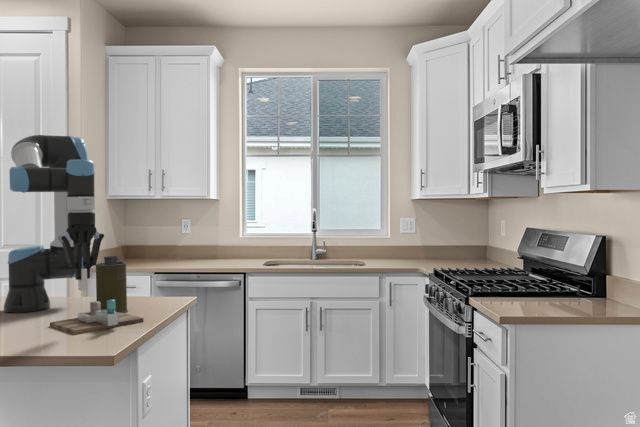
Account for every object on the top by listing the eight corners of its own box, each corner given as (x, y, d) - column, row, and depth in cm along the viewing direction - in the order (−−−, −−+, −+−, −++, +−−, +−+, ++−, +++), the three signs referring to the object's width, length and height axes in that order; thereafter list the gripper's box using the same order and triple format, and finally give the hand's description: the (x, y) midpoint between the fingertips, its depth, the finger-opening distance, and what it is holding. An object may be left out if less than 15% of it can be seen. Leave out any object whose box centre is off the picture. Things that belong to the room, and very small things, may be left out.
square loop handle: (77, 319, 169) (77, 296, 169) (103, 315, 175) (102, 293, 175) (100, 327, 157) (99, 302, 157) (126, 323, 163) (125, 298, 162)
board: (49, 326, 167) (49, 303, 167) (116, 314, 184) (116, 294, 184) (74, 334, 155) (74, 310, 155) (143, 321, 172) (143, 299, 172)
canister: (116, 315, 182) (115, 257, 182) (89, 314, 185) (88, 257, 184) (134, 309, 193) (132, 254, 193) (108, 309, 195) (107, 254, 195)
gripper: (64, 212, 151) (65, 294, 152) (108, 211, 161) (109, 288, 162) (53, 211, 156) (55, 291, 157) (97, 210, 166) (98, 285, 167)
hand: (82, 290), depth 159 cm, fingers closed
